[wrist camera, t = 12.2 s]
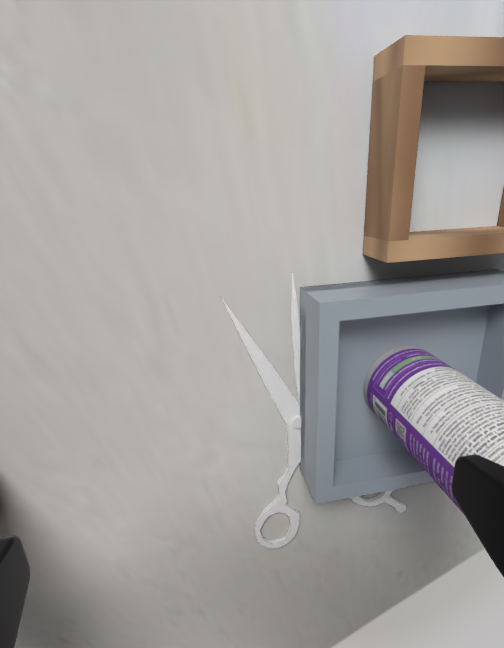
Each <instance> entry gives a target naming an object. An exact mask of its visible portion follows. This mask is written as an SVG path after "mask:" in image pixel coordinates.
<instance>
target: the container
mask: <svg viewBox="0 0 504 648" xmlns="http://www.w3.org/2000/svg"><path fill="white" fill-rule="evenodd" d="M363 392H364V398H365V400H366V402H367V404H368V406H369V407H370V408H371V409H372V411H373V412H374V413H375V414H376V415H377V416H378V417H379V419H380V420H381V421H382V422H383V423H384V424H385V425H386V426H387V428H388V429H389V430H390V431H391V432H392V433H393V434H394V436H395V437H396V438H397V439H398V440H399V441H400V442H401V443H402V445H403V446H404V447H405V448H406V449H407V450H408V451H409V453H410V454H411V455H412V456H413V457H414V458H415V459H416V460H417V462H418V463H419V464H420V465H421V466H422V467H423V468H424V469H425V471H426V472H427V473H428V474H429V475H430V476H431V477H432V479H433V480H434V481H435V482H436V483H437V484H438V485H439V486H440V488H441V489H442V490H443V491H444V492H445V493H446V494H447V496H448V497H449V498H450V499H451V500H452V501H453V502H454V503H455V505H456V506H457V507H458V508H459V509H460V510H461V508H460V506H459V505H458V503H457V501H456V500H455V498H454V496H453V493H452V489H451V483H452V478H453V472H454V466H455V462H456V460H457V458H458V457H461V456H466V455H472V454H476V455H479V456H482V457H484V458H486V459H489V460H491V461H493V462H495V463H498V464H500V465H502V466H504V400H502V399H500V398H499V397H497V396H496V395H494V394H493V393H491V392H490V391H488V390H486V389H485V388H483V387H482V386H480V385H479V384H477V383H476V382H474V381H472V380H471V379H469V378H468V377H466V376H465V375H463V374H462V373H460V372H458V371H457V370H455V369H454V368H452V367H451V366H449V365H448V364H446V363H444V362H443V361H441V360H440V359H438V358H437V357H435V356H434V355H432V354H430V353H429V352H427V351H425V350H424V349H422V348H420V347H416V346H400V347H396V348H394V349H391V350H389V351H387V352H386V353H384V354H383V355H381V356H380V357H379V358H378V359H377V360H376V361H375V362H374V363H373V364H372V366H371V367H370V369H369V370H368V372H367V374H366V377H365V380H364V386H363ZM461 511H462V510H461ZM462 512H463V511H462ZM463 514H464V513H463Z"/></svg>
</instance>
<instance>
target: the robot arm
mask: <svg viewBox="0 0 504 648" xmlns="http://www.w3.org/2000/svg"><path fill="white" fill-rule="evenodd" d="M451 489H452V493H453V496H454V498H455V500H456V501H457V503H458V505H459V506H460V508H461V510H462V511H463V513H464V515H465V516H466V518H467V519H468V521H469V523H470V524H471V526H472V528H473V529H474V531H475V533H476V534H477V536H478V538H479V539H480V541H481V543H482V544H483V546H484V548H485V549H486V551H487V553H488V554H489V556H490V557H491V559H492V560H493V562H494V563H495V565H496V567H497V568H498V569H499V571H500V572H501V574H502V575H503V577H504V466H502V465H500V464H498V463H495V462H493V461H491V460H489V459H486V458H484V457H482V456H479V455H476V454H472V455H466V456H461V457H458V458H457V460H456V462H455V466H454V472H453V478H452V483H451ZM29 579H30V567H29V563H28V560H27V558H26V555H25V552H24V549H23V546H22V543H21V540H20V538H19V537H17V536H8V537H2V538H0V648H14V647H15V642H16V638H17V633H18V629H19V624H20V620H21V615H22V611H23V606H24V602H25V597H26V593H27V589H28V584H29Z"/></svg>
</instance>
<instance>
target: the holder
mask: <svg viewBox="0 0 504 648" xmlns="http://www.w3.org/2000/svg"><path fill="white" fill-rule="evenodd" d="M424 82H504V37H458V36H413V35H405V36H404V37H402V38H401V39H399V40H398V41H396V42H395V43H393V44H392V45H390V46H389V47H387V48H386V49H384V50H383V51H381V52H380V53H378V54H377V55H375V56H374V73H373V90H372V107H371V124H370V141H369V158H368V175H367V192H366V209H365V227H364V244H363V255H366V256H369V257H372V258H374V259H377V260H380V261H383V262H386V263H391V262H403V261H415V260H427V259H439V258H451V257H463V256H475V255H487V254H499V253H504V190H503V196H502V201H501V207H500V213H499V218H498V224H497V226H492V227H478V228H464V229H449V230H435V231H421V232H409V228H410V218H411V208H412V198H413V188H414V178H415V167H416V157H417V147H418V137H419V127H420V117H421V106H422V96H423V86H424Z"/></svg>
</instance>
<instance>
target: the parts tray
mask: <svg viewBox="0 0 504 648" xmlns="http://www.w3.org/2000/svg"><path fill="white" fill-rule="evenodd" d="M400 346H416V347H420V348H422V349H424V350H425V351H427V352H429V353H430V354H432V355H434V356H435V357H437V358H438V359H440V360H441V361H443V362H444V363H446V364H448V365H449V366H451V367H452V368H454V369H455V370H457V371H458V372H460V373H462V374H463V375H465V376H466V377H468V378H469V379H471V380H472V381H474V382H476V383H477V384H479V385H480V386H482V387H483V388H485V389H486V390H488V391H490V392H491V393H493V394H494V395H496V396H497V397H499V398H500V399H502V400H504V271H501V270H486V271H475V272H464V273H453V274H441V275H430V276H419V277H408V278H397V279H386V280H375V281H364V282H353V283H342V284H331V285H320V286H309V287H300V416H301V428H300V430H301V461H300V470H301V472H302V475H303V477H304V479H305V481H306V484H307V486H308V488H309V490H310V493H311V495H312V497H313V499H314V502H315V504H321V503H326V502H331V501H336V500H342V499H347V498H352V497H358V496H363V495H368V494H374V493H379V492H384V491H390V490H395V489H400V488H405V487H411V486H416V485H421V484H427V483H432V482H435V481H434V480H433V479H432V477H431V476H430V475H429V474H428V473H427V472H426V471H425V469H424V468H423V467H422V466H421V465H420V464H419V463H418V462H417V460H416V459H415V458H414V457H413V456H412V455H411V454H410V453H409V451H408V450H407V449H406V448H405V447H404V446H403V445H402V443H401V442H400V441H399V440H398V439H397V438H396V437H395V436H394V434H393V433H392V432H391V431H390V430H389V429H388V428H387V426H386V425H385V424H384V423H383V422H382V421H381V420H380V419H379V417H378V416H377V415H376V414H375V413H374V412H373V411H372V409H371V408H370V407H369V406H368V404H367V402H366V400H365V398H364V392H363V386H364V380H365V377H366V374H367V372H368V370H369V369H370V367H371V366H372V364H373V363H374V362H375V361H376V360H377V359H378V358H379V357H380V356H381V355H383V354H384V353H386V352H387V351H389V350H391V349H394V348H396V347H400Z"/></svg>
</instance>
